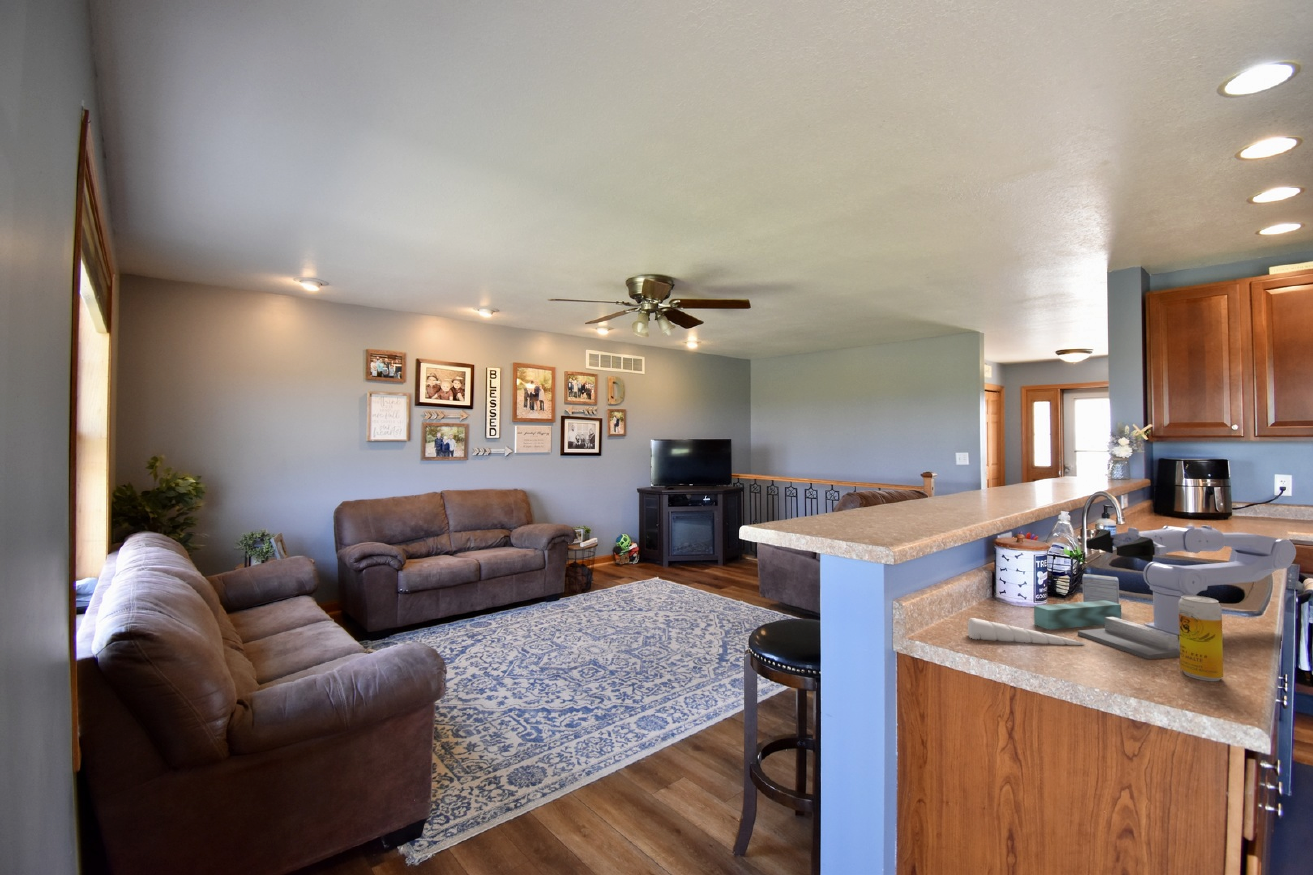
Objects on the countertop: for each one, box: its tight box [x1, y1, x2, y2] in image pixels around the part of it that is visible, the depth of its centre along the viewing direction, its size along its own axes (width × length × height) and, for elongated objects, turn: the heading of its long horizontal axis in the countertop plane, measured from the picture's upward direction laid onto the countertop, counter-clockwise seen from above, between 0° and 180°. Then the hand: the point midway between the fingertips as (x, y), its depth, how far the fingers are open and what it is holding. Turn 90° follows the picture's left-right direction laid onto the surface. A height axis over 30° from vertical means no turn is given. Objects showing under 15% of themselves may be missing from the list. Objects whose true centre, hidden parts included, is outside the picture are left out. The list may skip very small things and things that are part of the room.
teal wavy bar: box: [1033, 600, 1122, 630], centre depth 143 cm, size 22×4×5 cm, turn 101°
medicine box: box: [1081, 573, 1120, 604], centre depth 157 cm, size 8×4×9 cm, turn 52°
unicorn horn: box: [967, 617, 1086, 646], centre depth 130 cm, size 5×24×5 cm, turn 71°
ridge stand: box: [1077, 617, 1180, 660], centre depth 128 cm, size 16×16×4 cm
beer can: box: [1178, 595, 1224, 682], centre depth 110 cm, size 6×6×15 cm
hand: (1102, 547), depth 135 cm, fingers open, 7 cm apart
